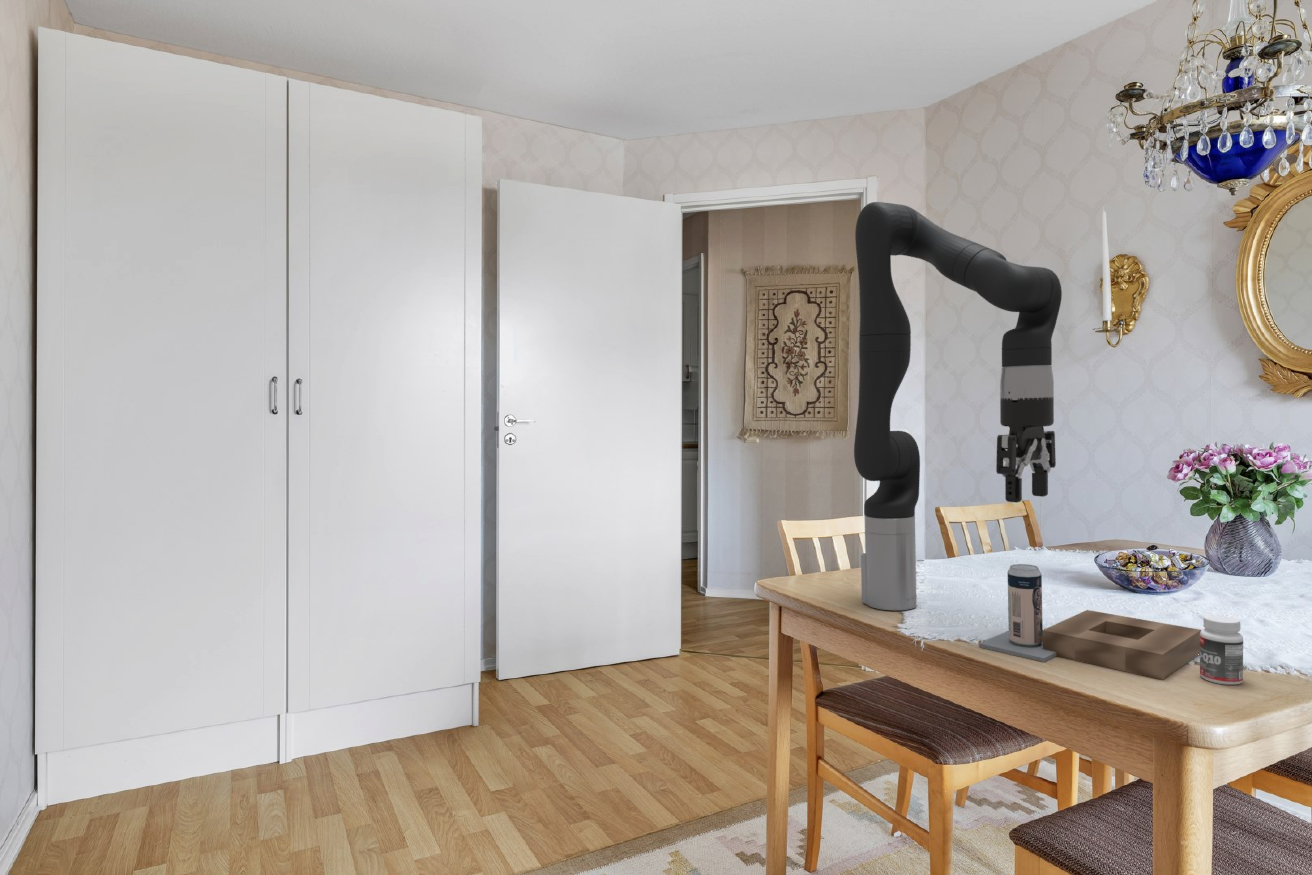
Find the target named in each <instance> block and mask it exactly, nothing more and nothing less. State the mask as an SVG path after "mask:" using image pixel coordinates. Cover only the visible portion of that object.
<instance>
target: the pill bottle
mask: <svg viewBox="0 0 1312 875" xmlns="http://www.w3.org/2000/svg"><path fill="white" fill-rule="evenodd" d="M1241 629H1242V628H1241V620H1240V619H1239V618H1237V617H1234V616H1228V615H1224V614H1223V615H1222V614H1206V615H1205V616H1203V628H1202V629H1200V630H1201V632H1200V654H1199V676H1200V677H1201V678H1203V680H1206V681H1208V682H1211V683H1215V684H1220V685H1229V686H1231V685H1234V686H1235V685H1240V684H1242V683H1243V681H1244V637H1243V634H1241V633H1240V631H1241Z"/></svg>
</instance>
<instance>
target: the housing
mask: <svg viewBox="0 0 1312 875" xmlns="http://www.w3.org/2000/svg"><path fill="white" fill-rule="evenodd" d="M1201 630H1202V629H1199V628H1193V627H1187V626H1182V625H1175V624H1170V623H1166V622H1165V623H1163V622H1159V621H1155V620H1154V621H1153V620H1147V619H1142V618H1135V617H1131V616H1130V617H1129V616H1125V615H1119V614H1112V613H1108V612H1101V611H1096V610H1090V609H1086V610H1084V611H1082V612H1079V613H1077V614H1075V615H1072V616H1071V617H1068V618H1066V619H1064V620H1062V621H1060V622H1057V623H1055V624H1053V625H1051V626H1048V627H1047V628H1043V649H1045V650H1049V651H1054V652H1056V656H1055V657H1059V658H1064V659H1068V660H1073V661H1077V662H1082V663H1085V664H1091V665H1095V666H1100V667H1104V668H1109V669H1112V670H1113V669H1114V670H1118V671H1122V672H1126V673H1131V674H1135V675H1138V676H1139V675H1140V676H1144V677H1147V678H1148V677H1149V678H1152V679H1153V678H1154V679H1157V680H1161V681H1163V680H1164V679H1166V678H1168V677H1169V676H1170V675H1172V674H1173V673H1175V672H1176V671H1178V670H1179V669H1181V668H1182V667H1184V666H1185V665H1187V664H1188V663H1189V662H1191V661H1192V660H1194V659H1195V658H1196V657H1198V656H1199V655H1200V632H1201ZM1198 654H1199V655H1198ZM1197 655H1198V656H1197Z"/></svg>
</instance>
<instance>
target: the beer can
mask: <svg viewBox="0 0 1312 875" xmlns="http://www.w3.org/2000/svg"><path fill="white" fill-rule="evenodd" d="M1042 579H1043V577H1042V572H1041V570H1040V569H1039V567H1038V566H1037V565H1035V564H1034V565H1033V564H1025V563H1024V564H1023V563H1019V564H1018V563H1017V564H1016V563H1015V564H1012V565H1010V566H1009V569H1008V570H1007V605H1008V606H1007V607H1008V608H1007V612H1008V631H1009V640H1011V641H1012V642H1014V643H1015V644H1017V645H1021V646H1037V645H1038V644H1040V643H1042V642H1043V630H1044V626H1043V625H1044V624H1043V580H1042Z"/></svg>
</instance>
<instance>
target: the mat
mask: <svg viewBox="0 0 1312 875" xmlns="http://www.w3.org/2000/svg"><path fill="white" fill-rule="evenodd" d="M978 648H982V649H987V650H989V651H990V650H991V651H994V652H999V653H1003V654H1008V655H1011V656H1014V657H1015V656H1016V657H1020V658H1024V659H1029V660H1033V661H1037V662H1042V663H1045V662H1048V661H1050V660H1051V659H1053V658H1055V657H1057V656H1056V652H1054V651H1049V650H1045V649H1043V642H1042V643H1040V644H1038V645H1037V646H1021V645H1017V644H1015V643H1014V642H1012V641H1011V640H1009V630H1007V631H1005V632H1002V633H1000V634H997V635H996V636H992V637H991V638H988V639H986V640H984V641H981V642H979V643H978Z"/></svg>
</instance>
